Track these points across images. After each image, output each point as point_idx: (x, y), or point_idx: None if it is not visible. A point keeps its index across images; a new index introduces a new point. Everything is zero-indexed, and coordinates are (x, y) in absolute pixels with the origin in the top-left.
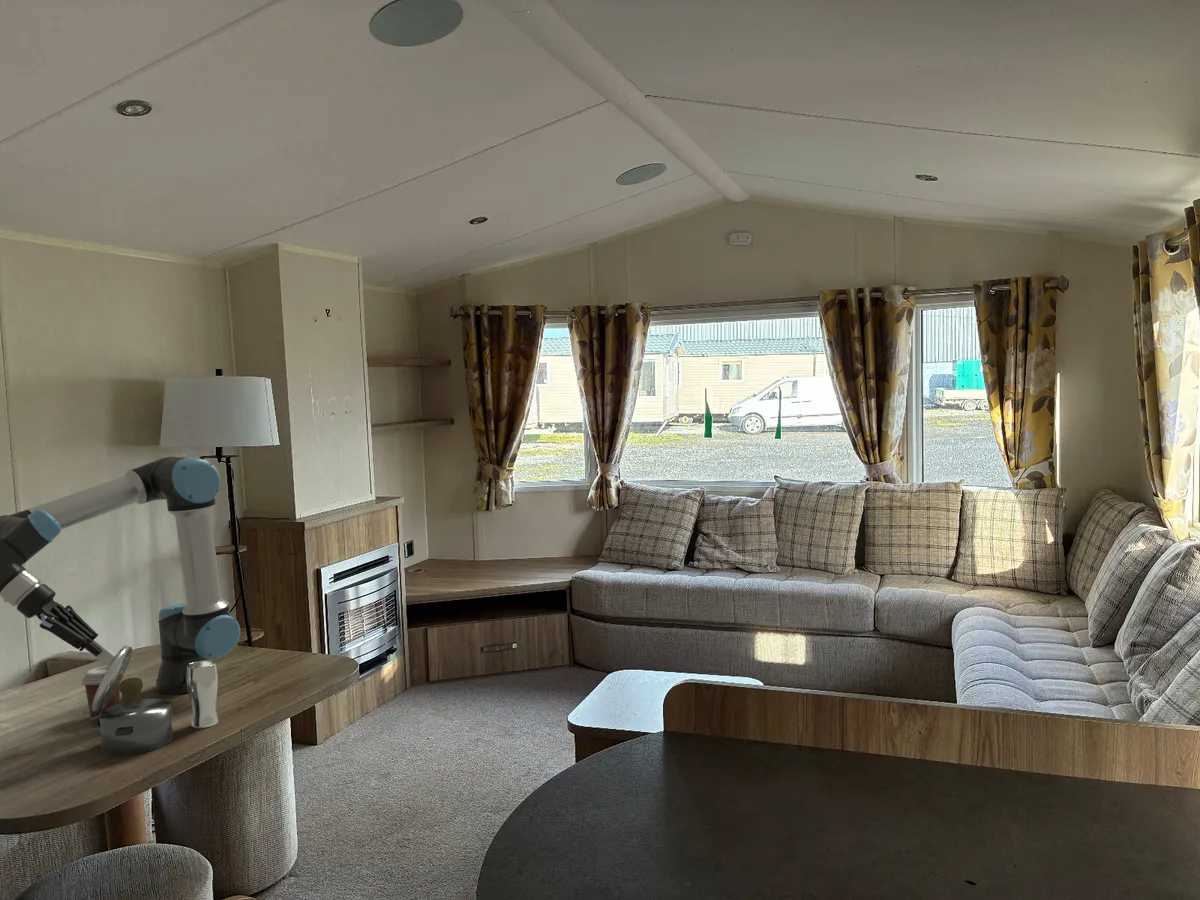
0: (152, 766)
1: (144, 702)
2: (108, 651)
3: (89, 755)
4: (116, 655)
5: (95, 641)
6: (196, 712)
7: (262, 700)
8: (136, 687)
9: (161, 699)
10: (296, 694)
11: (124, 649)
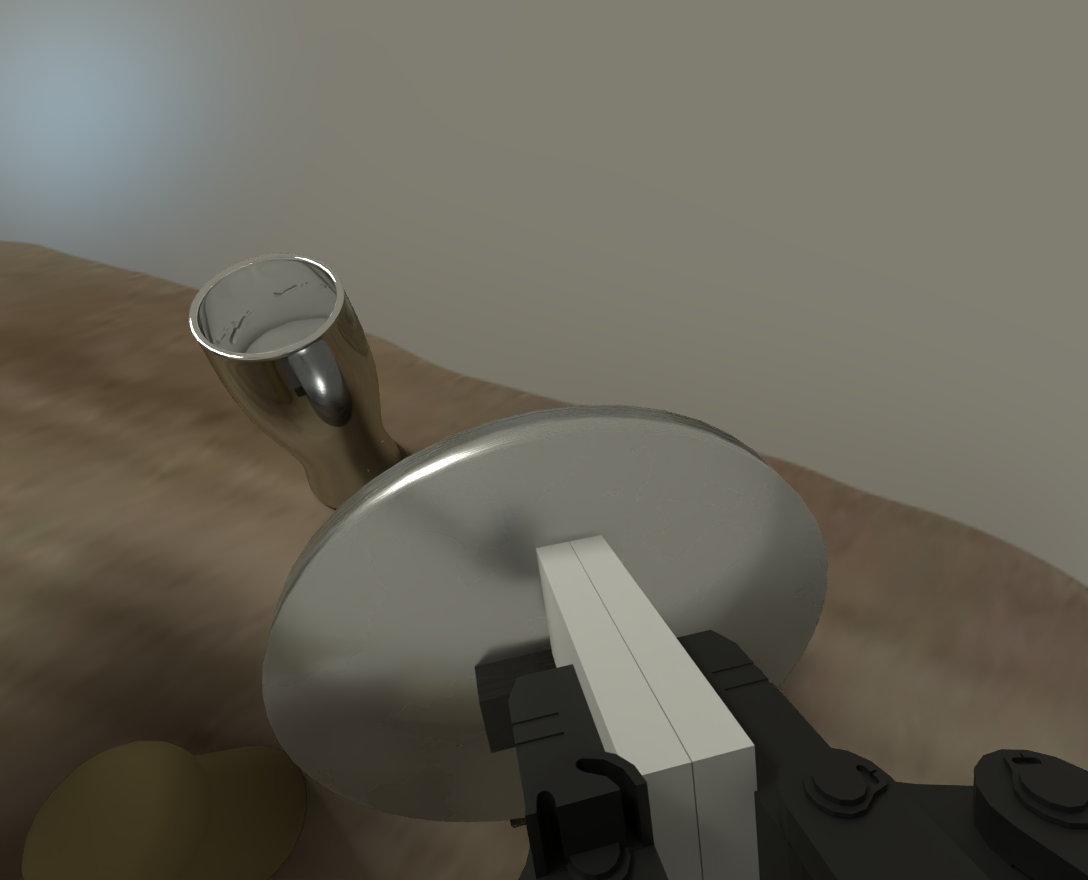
0: None
1: None
2: (626, 581)
3: None
4: (720, 443)
5: (723, 713)
6: (381, 448)
7: (149, 377)
8: (187, 753)
9: None
10: (131, 303)
11: (599, 415)
